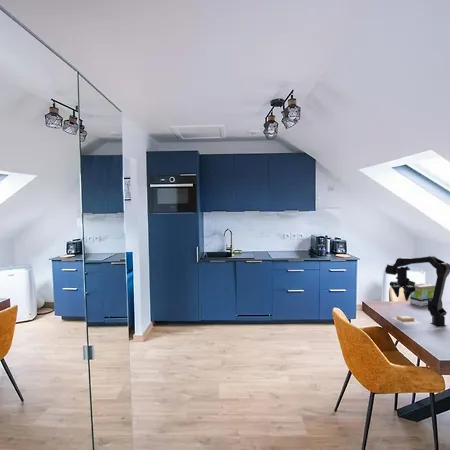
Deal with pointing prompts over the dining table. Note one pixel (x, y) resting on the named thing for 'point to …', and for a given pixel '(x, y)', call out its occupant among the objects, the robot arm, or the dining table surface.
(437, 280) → the robot arm
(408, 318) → the tile
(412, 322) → the mat
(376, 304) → the dining table surface
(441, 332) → the dining table surface
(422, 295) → the tea box
